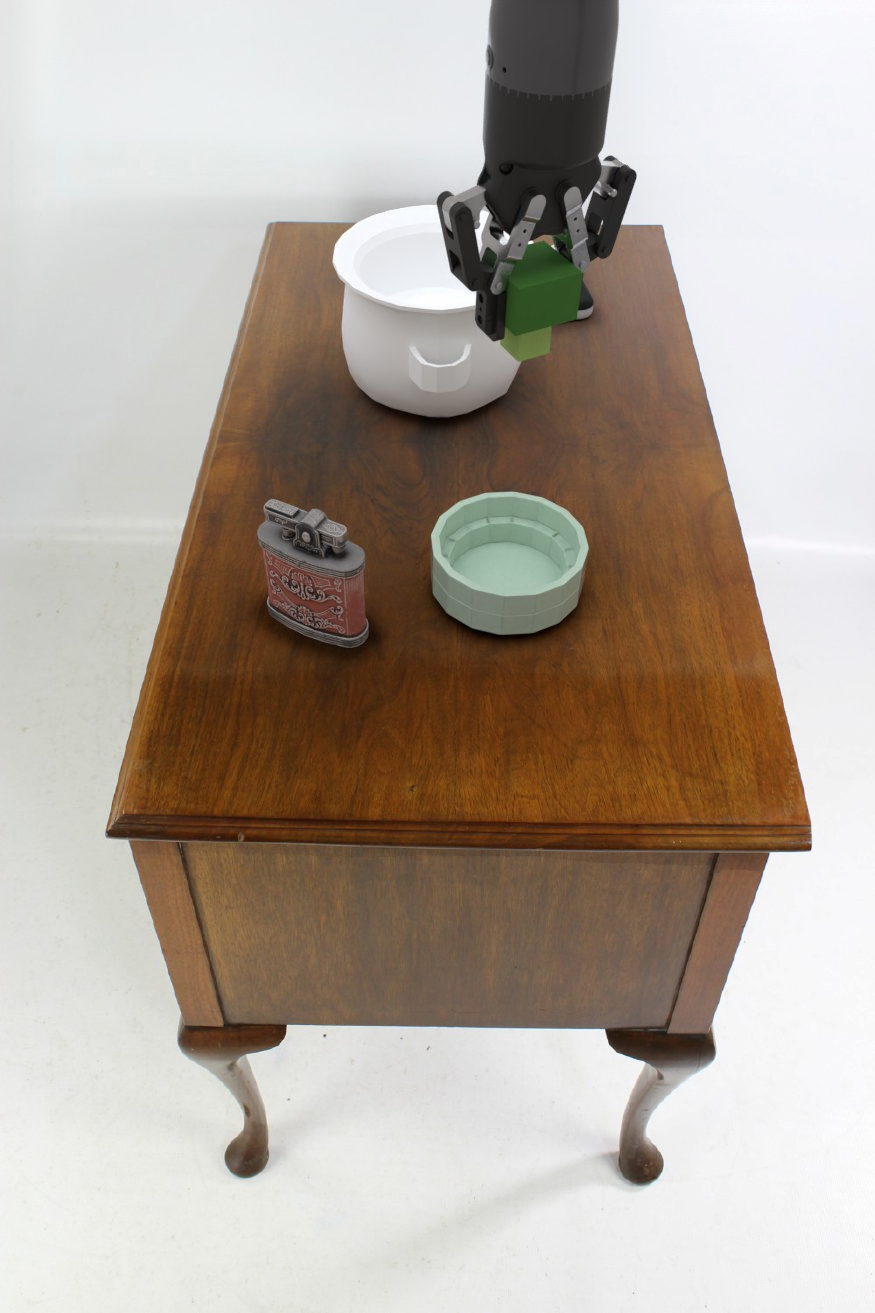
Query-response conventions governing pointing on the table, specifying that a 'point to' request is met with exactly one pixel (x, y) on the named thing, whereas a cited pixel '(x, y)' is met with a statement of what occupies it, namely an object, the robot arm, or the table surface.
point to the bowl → (508, 562)
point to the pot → (415, 318)
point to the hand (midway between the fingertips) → (527, 324)
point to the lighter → (313, 575)
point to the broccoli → (539, 300)
